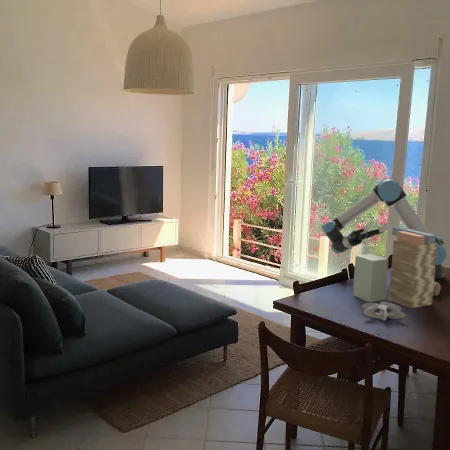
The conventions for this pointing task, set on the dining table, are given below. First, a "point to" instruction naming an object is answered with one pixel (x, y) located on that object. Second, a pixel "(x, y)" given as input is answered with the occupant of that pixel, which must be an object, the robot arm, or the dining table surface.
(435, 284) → the ceramic mug
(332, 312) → the dining table surface
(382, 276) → the pale green pillar
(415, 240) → the terracotta bar
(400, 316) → the sculpture
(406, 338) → the dining table surface
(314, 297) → the dining table surface
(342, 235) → the robot arm
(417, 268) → the birch stand
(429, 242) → the slate bar
